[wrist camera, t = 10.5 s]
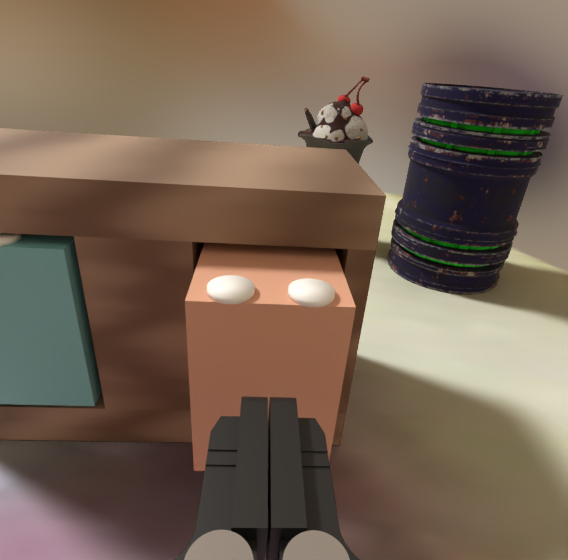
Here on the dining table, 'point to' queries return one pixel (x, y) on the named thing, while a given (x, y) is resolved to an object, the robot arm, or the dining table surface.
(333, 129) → the sundae
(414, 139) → the dark blue barrel
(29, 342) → the grey-green piece
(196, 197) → the walnut console
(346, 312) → the terracotta button
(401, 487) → the dining table surface
